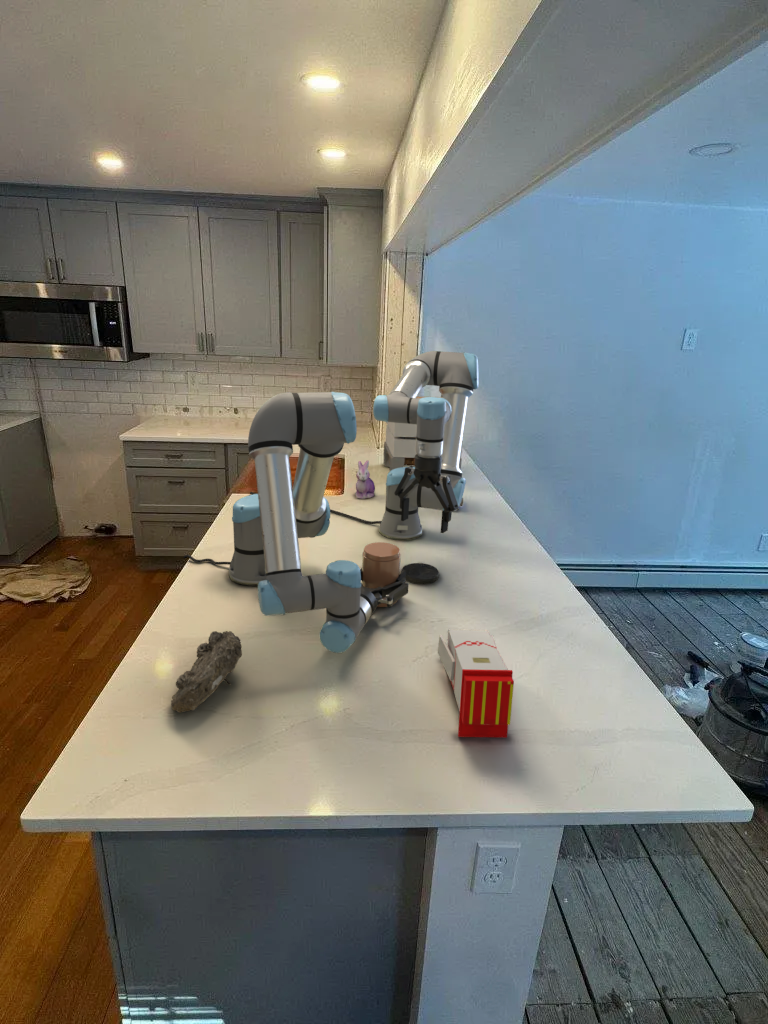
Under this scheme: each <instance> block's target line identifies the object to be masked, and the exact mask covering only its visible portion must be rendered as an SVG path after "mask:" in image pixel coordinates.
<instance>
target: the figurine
mask: <svg viewBox="0 0 768 1024" xmlns="http://www.w3.org/2000/svg"><path fill="white" fill-rule="evenodd" d="M369 465H370V461H369V460H366V461H365V462H364V464H363V463H362V461H361V460H358V462H357V468H358V470H357V472H356V478H357V481H356V483H355V493H354V494H355V498H357V499H363V500H364V499H370V498H373V497H374V496H375V492H376V486H375V482H374V480H373V479H372V478H371V477H370V476H371V474H370V471H369V469H368V468H369Z"/></svg>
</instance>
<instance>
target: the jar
mask: <svg viewBox="0 0 768 1024" xmlns="http://www.w3.org/2000/svg"><path fill="white" fill-rule="evenodd" d="M400 551H401V550H400V547H399V546H397V545H395V544H393V543H390V542H382V541H381V542H380V541H378V542H377V541H375V542H371V543H369V544H368V543H367V544H365V546H364V547H363V551H362V554H361V555H362V558H361V560H362V561H361V568H362V580H361V583H362V585H363V587H368V588H374V589H375V588H377V587H385V586H387V585H390V584H393V583H395V582H396V579H397V578H398V576H399V575H400V573H401V556H402V554H401V552H400ZM397 602H398V600H397V601H396V602H394V603H393V605H395V604H396V603H397ZM385 607H386V608H388V607H387V604H385V603H381V604H380V605H378V606H377V607H376V608H385Z"/></svg>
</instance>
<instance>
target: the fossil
mask: <svg viewBox="0 0 768 1024" xmlns="http://www.w3.org/2000/svg"><path fill="white" fill-rule="evenodd" d="M242 647H243V646H242V642H241V638H240V637H239V636H237V635H235V633H234V632H233V631H231V630H229V631H223V632H221V631H220V632H219V631H217V630H213V631H211V632H210V635H209V636H208V642H204V643H200V644H199V645H198V646H197V648H196V659H195V661H194V662H193V665H192V666H191V669H190V670H185V671H184V672H183V674H181V675H179V676H178V677H177V678H176V681H175V687H176V688H177V689H178V690H177V691H176V692H175V693H174V694H173V695H172V697H171V701H170V702H171V709H172V711H176V712H178V713H185V712H189V711H195V710H196V709H197V708H198V707H199V706H200V705H202V703H204V702H205V701H206V700H207V699H208V698H209V697H210V696H211V695H212V694H213V693H214V692H215V691H217V689H218V688H219V686H220V684H221V683H223V681H224V682H225V683H226V684H227V685H228V686H230V685H231V684H232V683H231V682H230V680H229V679H227V678H226V677H227V676H228V674H230V673H232V672H233V671H234V669H235V668H236V665H237V663H238V661H239V659H241V658H242V655H243V650H242V649H243V648H242Z"/></svg>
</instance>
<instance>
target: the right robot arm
mask: <svg viewBox="0 0 768 1024" xmlns="http://www.w3.org/2000/svg"><path fill="white" fill-rule="evenodd" d="M426 386H435V387H438V392H439V393H440V395H441V394H442V396H443V397H442V398H437V397H438V396H424V397H425V398H416V397H417V396H418V395H419V393H420V391H421V389H422V388H424V387H426ZM478 389H479V358H478V356H477V354H475V353H469V352H465V351H464V352H459V351H458V352H457V351H440V350H429V351H426V352H422V353H419V354H418V355H416V356H414V357H413V358H411V359H410V360H409V361H408V362H407V363H406V364H405V365H404V366H403V369H402V374H401V376H400V378H399V379H398V380H397V382H396V383H395V385H394V387H393V388H392V389H391V391H390V392H389V393H388V394H379V395H377V396H376V397H375V398H374V400H373V408H372V409H373V410H372V412H373V417H374V419H375V420H376V421H378V422H385V423H386V422H394V423H406V424H416V425H417V433H416V448H415V452H416V455H415V464H414V466H404V467H401V468H396V469H393V470H391V471H390V470H389V472H388V473H387V475H386V482H385V504H384V505H385V507H384V508H385V509H384V513H383V515H382V519H381V520H373V521H372V520H365V519H362V518H359V517H357V516H353V515H349V514H347V513H344V512H341V511H338V510H334V509H331V508H330V513H333V514H336V515H339V516H342V517H346V518H348V519H352V520H355V521H358V522H361V523H363V524H368V525H378V524H379V526H378V533H379V534H380V535H381V536H382V537H385V538H387V539H389V540H395V541H410V540H415V539H418V538H420V537H421V536H422V535H423V525H422V524H421V518H420V515H419V508H422V509H428V510H429V509H430V510H437V511H441V519H440V520H441V521H440V534H444V533H446V532H448V530H449V523H450V522H451V521H452V514H453V513H452V512H456V511H458V510H457V509H458V508H459V509H460V507H461V506H460V503H461V500H462V498H463V496H464V493H465V489H466V483H467V480H466V478H465V477H463V472H462V469H461V470H460V469H459V461H460V453H461V445H462V446H463V443H462V441H463V438H464V432H463V430H464V429H465V421H466V414H467V407H468V406H467V405H468V400H469V398H470V397H471V396H473V394H474V390H478ZM464 431H465V430H464ZM462 437H463V438H462ZM461 454H462V453H461ZM253 494H258V492H254V491H250V492H249V495H253Z"/></svg>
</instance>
